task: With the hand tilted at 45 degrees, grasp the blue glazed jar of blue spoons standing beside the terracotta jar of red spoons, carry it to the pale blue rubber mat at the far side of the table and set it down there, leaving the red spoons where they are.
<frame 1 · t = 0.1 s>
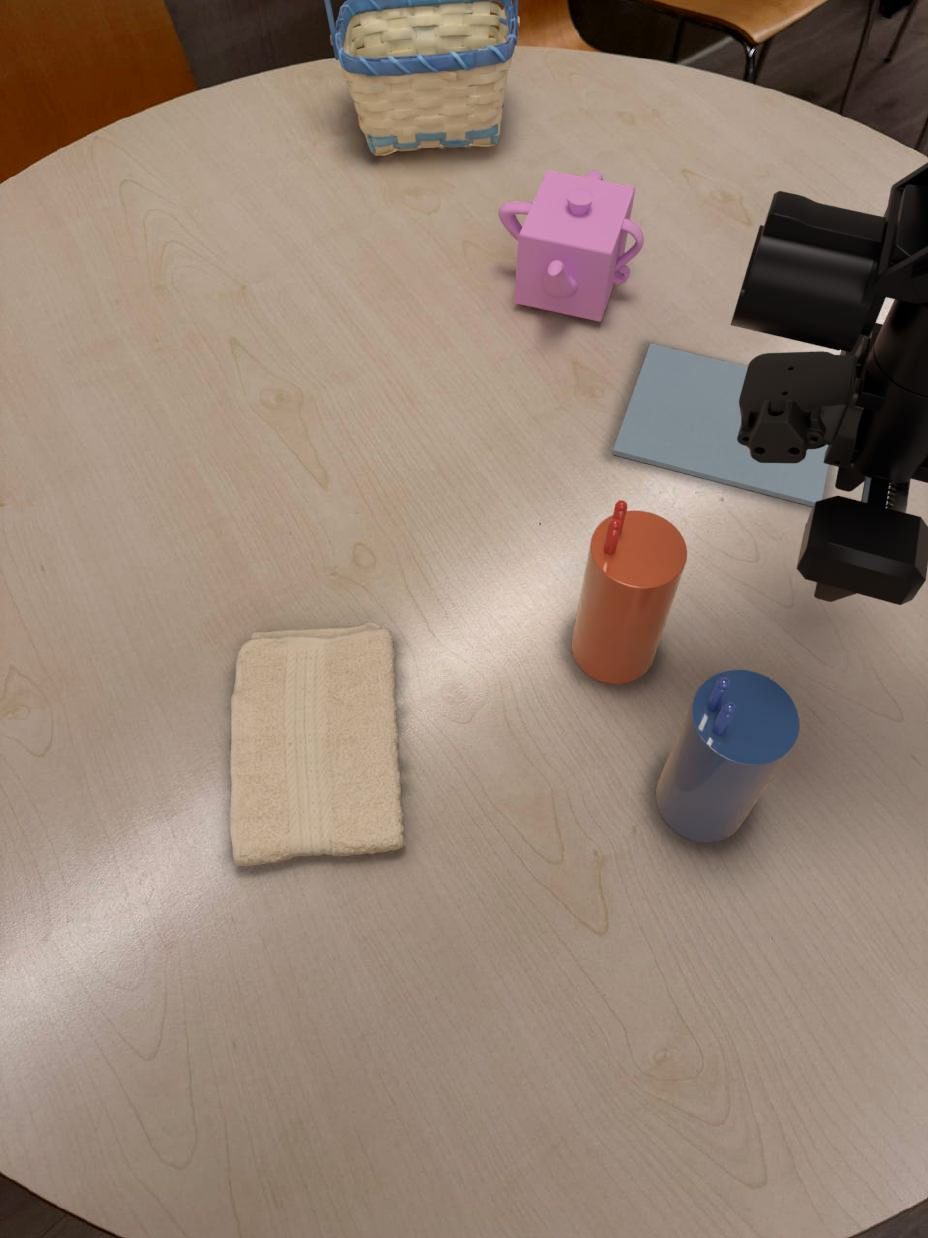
hand: (833, 541, 66), 15 cm above the table, tool pointing down, fingers open, 9 cm apart
washcloth: (320, 746, 74), on the table
basket: (423, 129, 115), on the table
blue spoon jar: (701, 799, 72), on the table
red spoon jar: (612, 647, 79), on the table
blue mat: (729, 423, 91), on the table
teapot: (561, 291, 101), on the table
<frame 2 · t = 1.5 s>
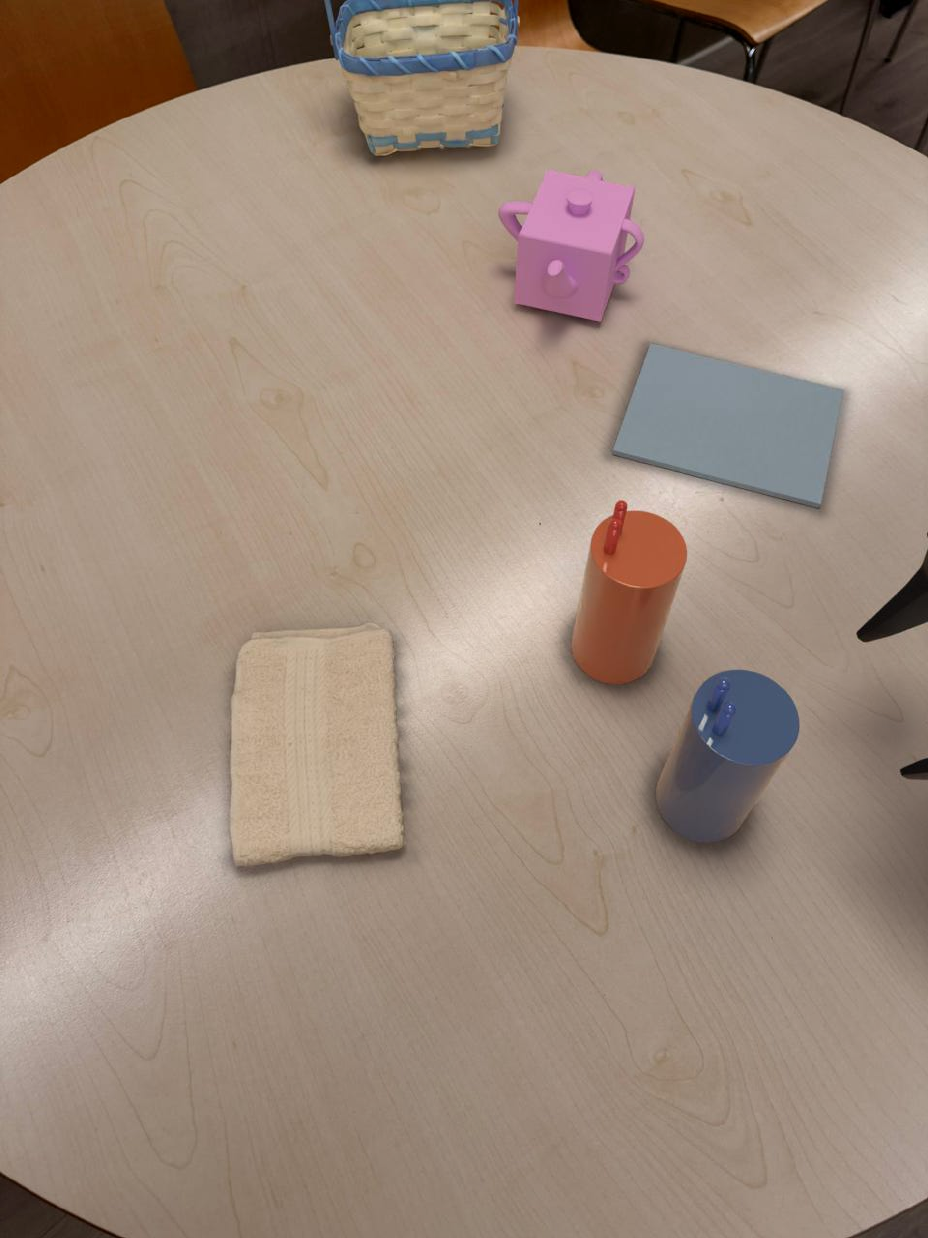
hand: (880, 703, 61), 13 cm above the table, tool tilted 45°, fingers open, 9 cm apart
nothing on the table moved.
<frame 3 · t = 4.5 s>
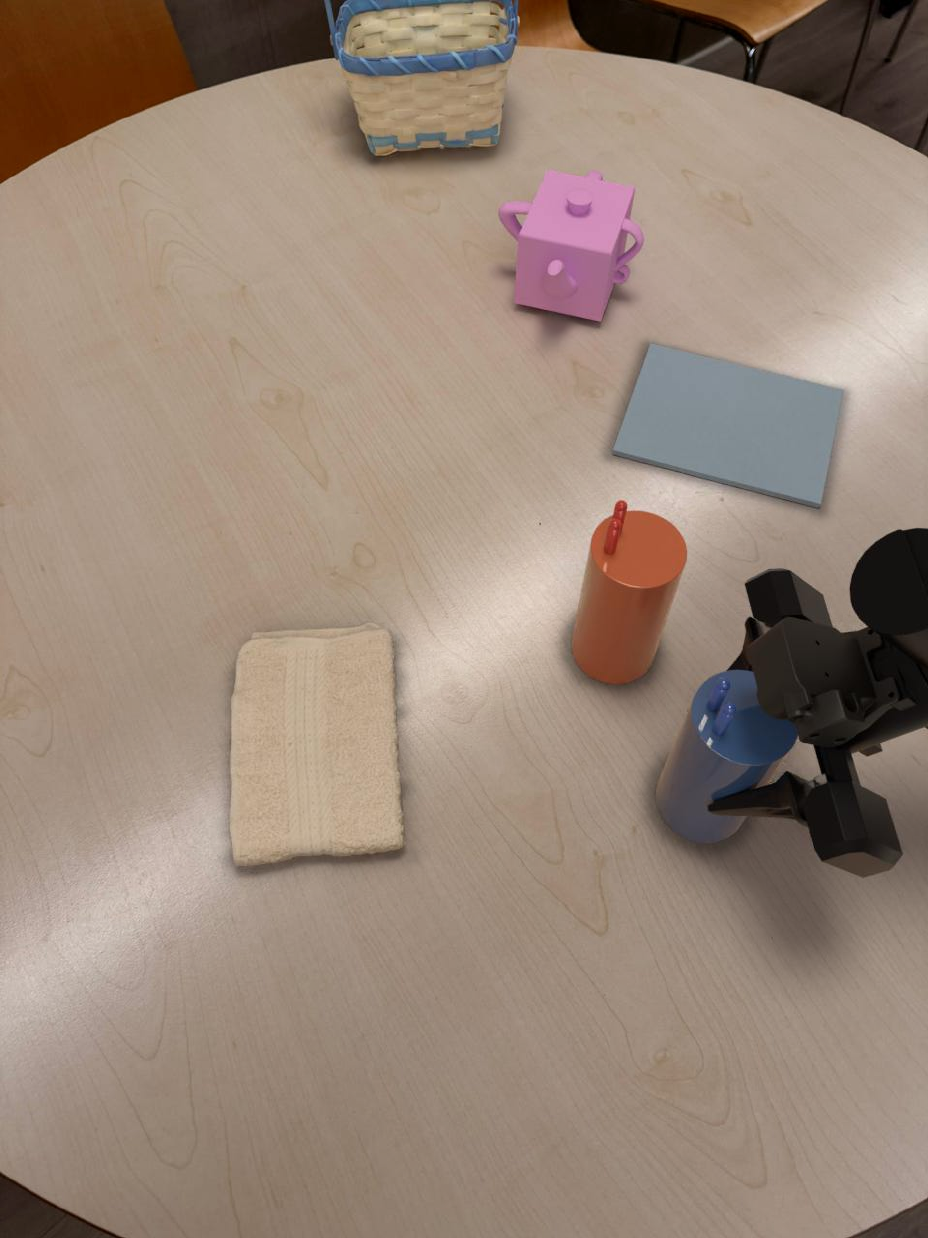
hand: (700, 761, 67), 7 cm above the table, tool tilted 45°, fingers closed on blue spoon jar, 6 cm apart
blue spoon jar: (700, 799, 72), on the table, touching gripper
everything else where it was.
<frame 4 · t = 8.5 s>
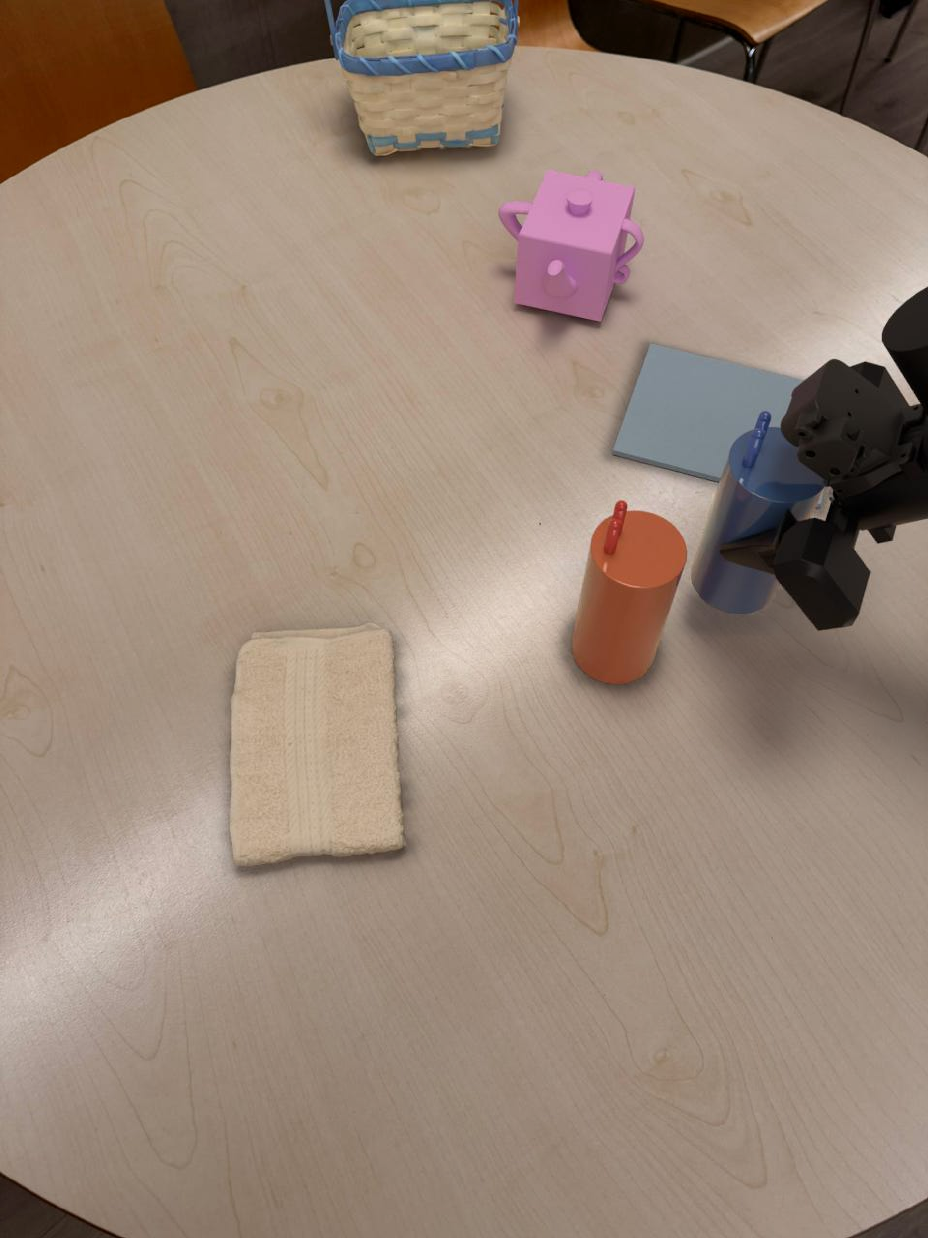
hand: (735, 518, 71), 11 cm above the table, tool tilted 45°, fingers closed on blue spoon jar, 6 cm apart
blue spoon jar: (733, 578, 77), point 5 cm above the table, touching gripper
everything else where it was.
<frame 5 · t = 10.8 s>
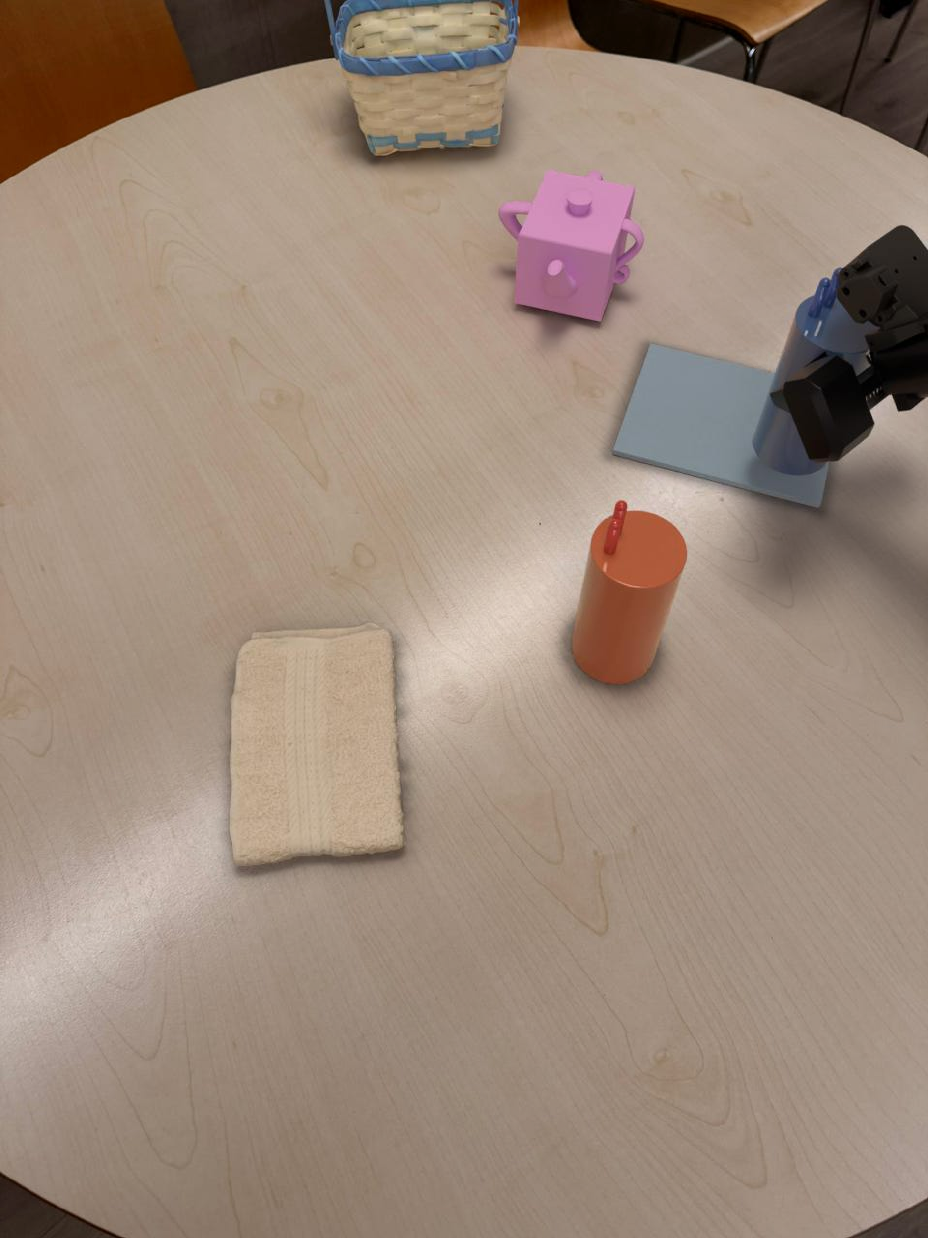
hand: (801, 377, 79), 11 cm above the table, tool tilted 45°, fingers closed on blue spoon jar, 6 cm apart
blue spoon jar: (791, 445, 84), point 4 cm above the table, touching gripper
everything else where it was.
when the fingers open (7 cm above the table, at t = 12.4 s): blue spoon jar stays where it is, resting on blue mat.
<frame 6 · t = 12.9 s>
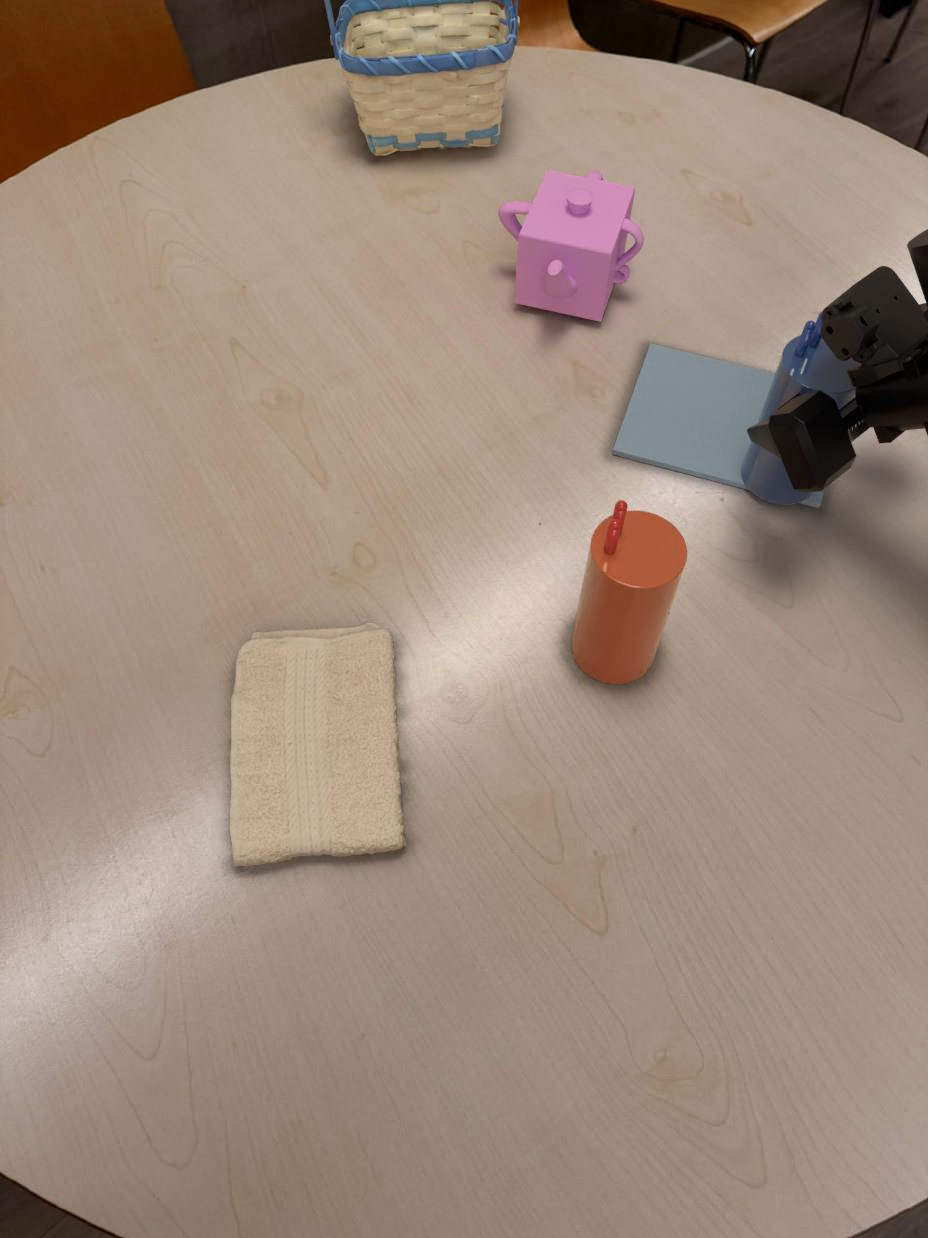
hand: (787, 406, 82), 8 cm above the table, tool tilted 45°, fingers open, 9 cm apart
blue spoon jar: (778, 475, 87), point 1 cm above the table, touching blue mat
everything else where it was.
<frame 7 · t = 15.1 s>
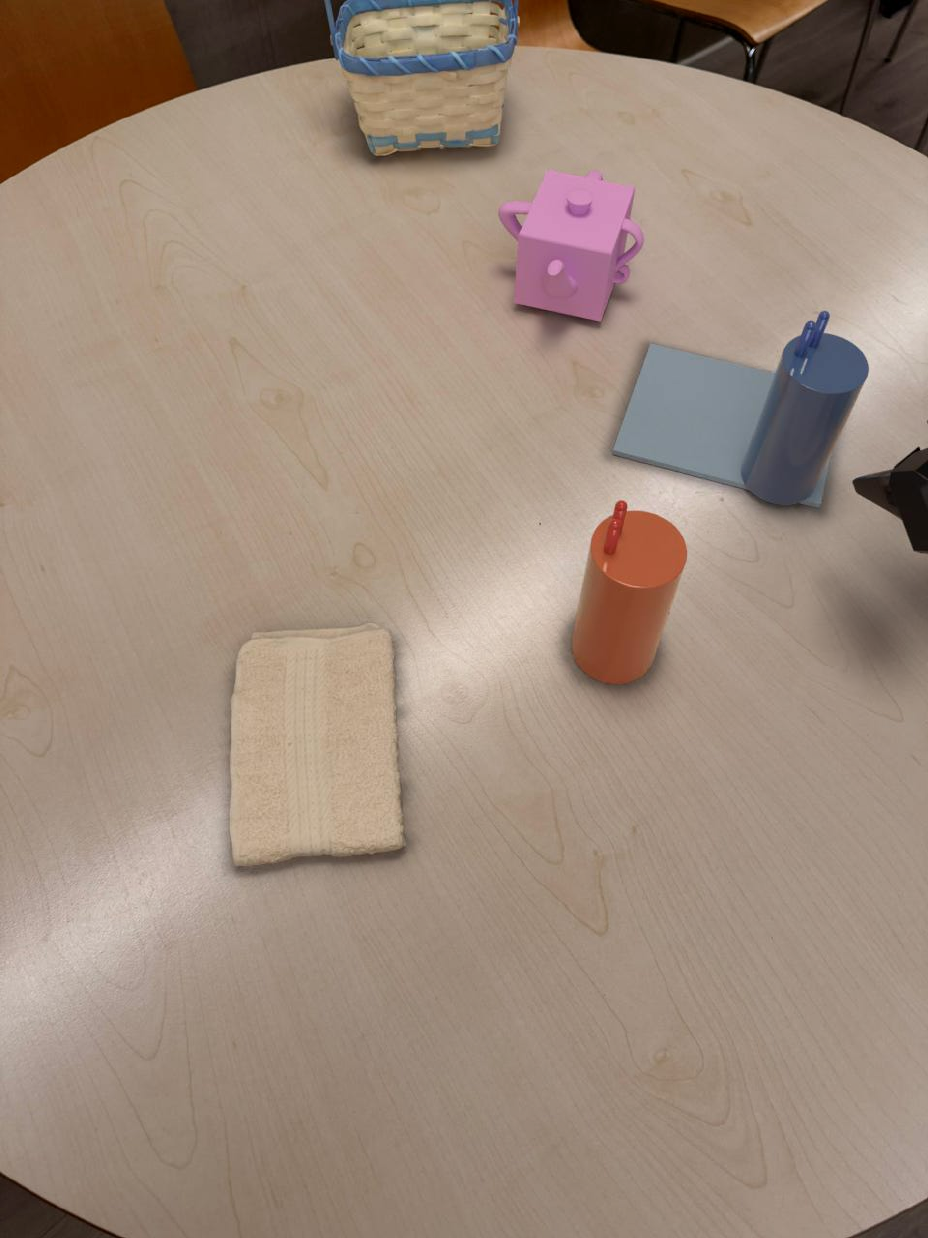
hand: (893, 454, 77), 10 cm above the table, tool tilted 45°, fingers open, 9 cm apart
nothing on the table moved.
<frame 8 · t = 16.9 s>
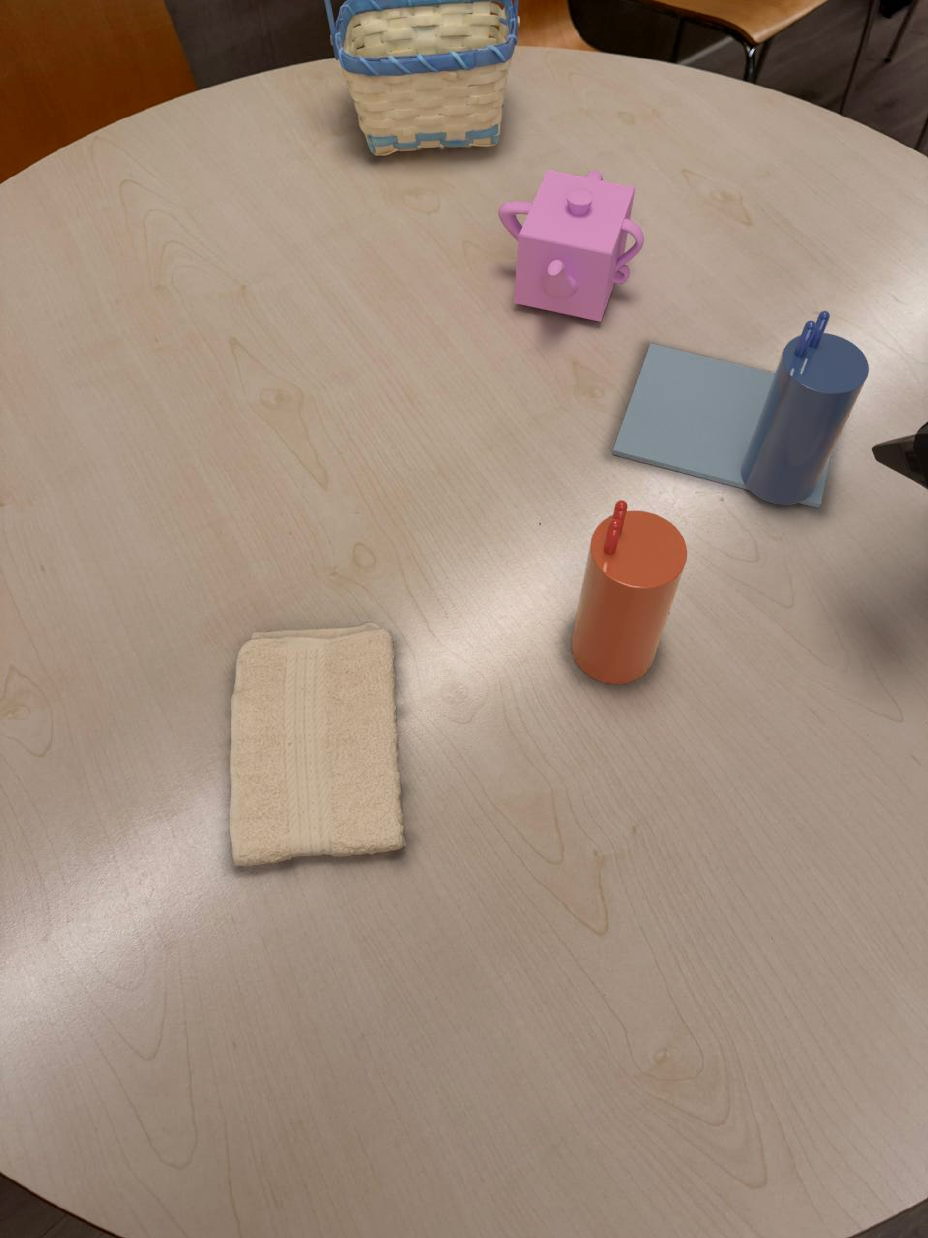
hand: (914, 421, 73), 14 cm above the table, tool tilted 45°, fingers open, 9 cm apart
nothing on the table moved.
at the end: blue spoon jar inside the target area on the blue mat (7.2 cm from its centre), point 0.6 cm above the blue mat's base; blue spoon jar tilted 0°; red spoon jar moved 0.0 cm from its start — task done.
